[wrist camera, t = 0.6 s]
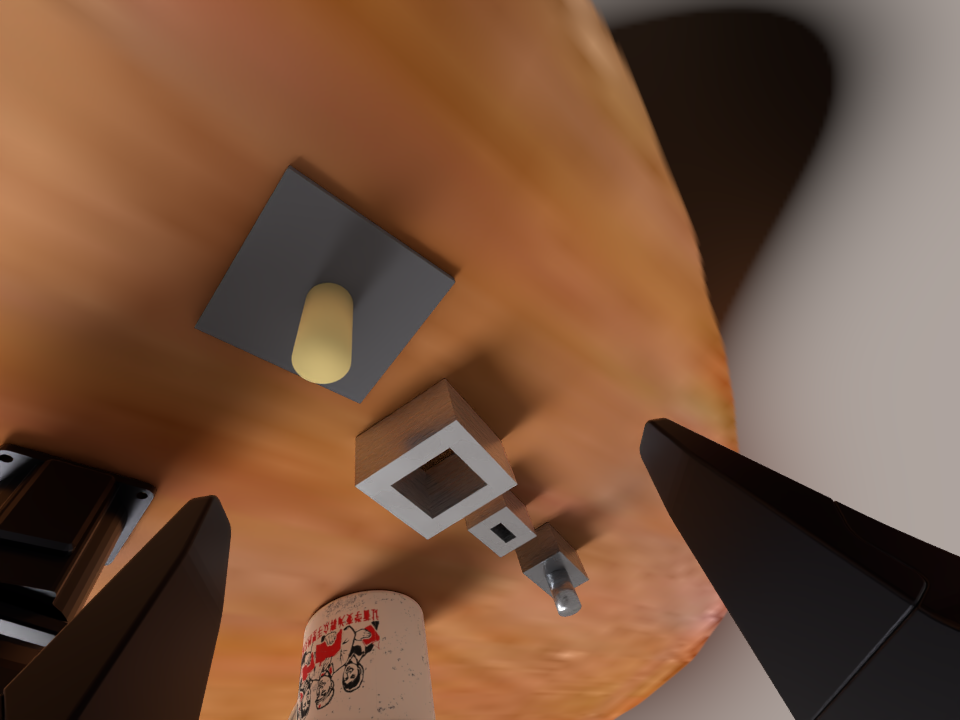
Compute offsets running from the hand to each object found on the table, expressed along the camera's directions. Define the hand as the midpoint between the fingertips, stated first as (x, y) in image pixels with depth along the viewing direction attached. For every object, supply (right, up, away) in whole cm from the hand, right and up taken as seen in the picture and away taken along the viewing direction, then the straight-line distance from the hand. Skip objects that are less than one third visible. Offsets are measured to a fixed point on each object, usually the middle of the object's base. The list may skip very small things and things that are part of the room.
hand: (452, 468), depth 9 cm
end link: (-2, -2, +17) cm, 17 cm away
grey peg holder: (-6, +5, +11) cm, 13 cm away
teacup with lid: (-9, -18, +25) cm, 32 cm away
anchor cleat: (+6, -12, +25) cm, 28 cm away
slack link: (+2, -7, +21) cm, 22 cm away
